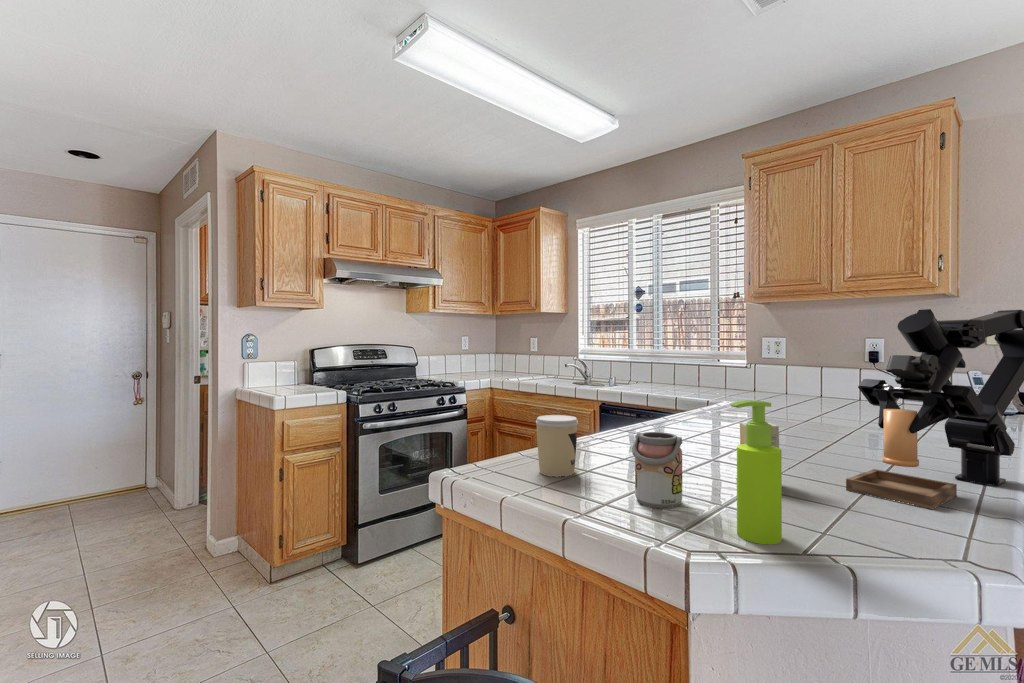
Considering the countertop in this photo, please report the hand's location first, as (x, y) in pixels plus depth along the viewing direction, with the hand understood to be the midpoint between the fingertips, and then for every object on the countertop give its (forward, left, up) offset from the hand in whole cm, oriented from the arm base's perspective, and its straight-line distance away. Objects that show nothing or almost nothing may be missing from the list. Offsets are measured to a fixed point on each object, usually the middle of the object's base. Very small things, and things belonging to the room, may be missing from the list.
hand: (895, 429), depth 91 cm
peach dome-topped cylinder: (-1, 0, -7) cm, 7 cm away
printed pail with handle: (+41, -22, -12) cm, 48 cm away
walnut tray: (-1, 0, -12) cm, 12 cm away
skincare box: (+15, -18, -12) cm, 26 cm away
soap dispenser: (+41, -4, -12) cm, 43 cm away
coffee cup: (+43, -48, -12) cm, 66 cm away
